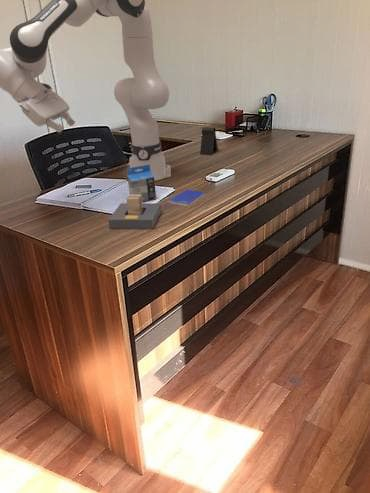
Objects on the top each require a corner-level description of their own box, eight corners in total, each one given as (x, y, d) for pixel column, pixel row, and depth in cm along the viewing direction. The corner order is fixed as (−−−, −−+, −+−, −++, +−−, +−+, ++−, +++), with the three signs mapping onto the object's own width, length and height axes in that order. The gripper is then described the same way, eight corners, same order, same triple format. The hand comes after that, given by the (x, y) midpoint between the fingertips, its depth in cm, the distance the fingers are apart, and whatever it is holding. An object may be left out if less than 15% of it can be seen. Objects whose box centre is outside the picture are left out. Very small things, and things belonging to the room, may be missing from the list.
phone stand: (211, 155, 206) (210, 130, 201) (200, 154, 209) (199, 129, 203) (218, 150, 213) (217, 126, 208) (207, 149, 216) (206, 125, 210)
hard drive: (187, 203, 148) (204, 192, 158) (167, 200, 152) (185, 189, 162) (188, 207, 149) (204, 196, 158) (168, 204, 153) (185, 193, 162)
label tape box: (133, 204, 153) (129, 170, 148) (130, 200, 157) (126, 168, 151) (156, 199, 156) (153, 166, 151) (152, 196, 160) (149, 163, 154)
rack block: (121, 211, 148) (120, 203, 146) (161, 211, 145) (160, 203, 144) (109, 228, 135) (108, 219, 134) (152, 228, 133) (151, 219, 132)
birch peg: (132, 217, 143) (129, 194, 139) (144, 217, 142) (141, 194, 138) (129, 222, 139) (126, 198, 135) (141, 222, 138) (138, 198, 135)
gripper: (20, 92, 121) (59, 126, 124) (51, 83, 139) (84, 113, 142) (9, 109, 124) (48, 142, 127) (41, 98, 142) (74, 128, 145)
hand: (67, 127), depth 135 cm, fingers open, 8 cm apart
